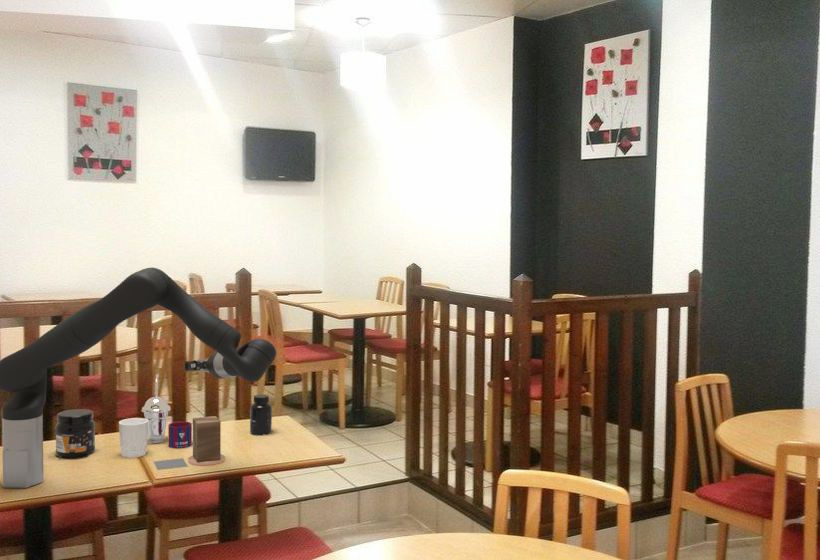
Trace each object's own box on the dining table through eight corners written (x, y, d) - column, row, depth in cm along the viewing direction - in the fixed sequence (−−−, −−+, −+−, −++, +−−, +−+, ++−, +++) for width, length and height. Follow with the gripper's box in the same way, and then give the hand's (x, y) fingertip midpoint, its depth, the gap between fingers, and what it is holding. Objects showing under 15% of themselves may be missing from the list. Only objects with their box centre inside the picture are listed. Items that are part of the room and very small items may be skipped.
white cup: (138, 460, 218) (138, 425, 217) (113, 458, 220) (113, 423, 219) (153, 452, 226) (153, 418, 225) (129, 450, 227) (128, 417, 227)
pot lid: (220, 467, 213) (220, 460, 213) (183, 466, 213) (183, 459, 213) (228, 456, 223) (228, 449, 223) (193, 456, 223) (193, 449, 223)
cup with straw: (136, 443, 234) (135, 378, 233) (152, 436, 243) (151, 373, 242) (161, 446, 232) (161, 380, 231) (176, 438, 241) (176, 374, 240)
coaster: (187, 467, 212) (187, 466, 212) (157, 471, 209) (157, 469, 209) (182, 459, 220) (182, 458, 220) (153, 462, 216) (153, 461, 216)
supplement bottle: (246, 434, 246) (246, 397, 246) (254, 429, 253) (254, 393, 252) (267, 436, 245) (267, 398, 245) (274, 430, 252) (274, 394, 251)
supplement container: (51, 460, 217) (50, 418, 216) (60, 449, 227) (59, 409, 227) (91, 458, 219) (91, 416, 218) (98, 447, 230) (98, 408, 229)
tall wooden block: (220, 459, 217) (220, 421, 216) (197, 462, 214) (197, 423, 213) (215, 453, 222) (215, 416, 222) (192, 456, 219) (192, 418, 219)
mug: (170, 450, 228) (170, 428, 227) (165, 441, 237) (165, 420, 237) (193, 448, 231) (193, 425, 230) (188, 439, 240) (187, 418, 239)
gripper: (252, 348, 205) (226, 351, 218) (200, 349, 196) (177, 353, 209) (253, 376, 204) (227, 378, 217) (201, 379, 195) (177, 381, 208)
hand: (202, 366), depth 213 cm, fingers open, 8 cm apart
